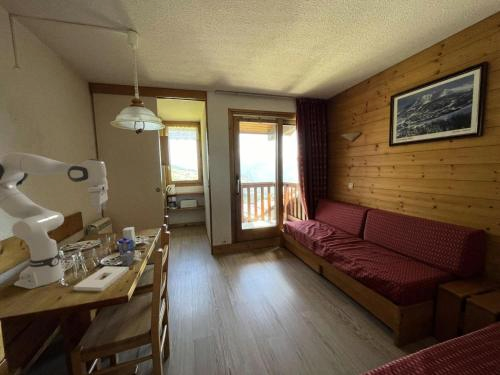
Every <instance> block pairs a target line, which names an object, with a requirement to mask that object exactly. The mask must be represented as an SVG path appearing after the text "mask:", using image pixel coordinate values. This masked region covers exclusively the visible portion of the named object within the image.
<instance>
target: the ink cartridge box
mask: <svg viewBox="0 0 500 375" xmlns="http://www.w3.org/2000/svg"><path fill="white" fill-rule="evenodd" d="M117 242H118V243H117V244H118V251H119V256H120V255H123V254H125V253H126V252H128V251H130V252H133V255H134V256H135V255H136V251H135V247H134V242H133V239H128V238H125V237H123V236H122V237H121V238H120V239H118V240H117Z"/></svg>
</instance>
